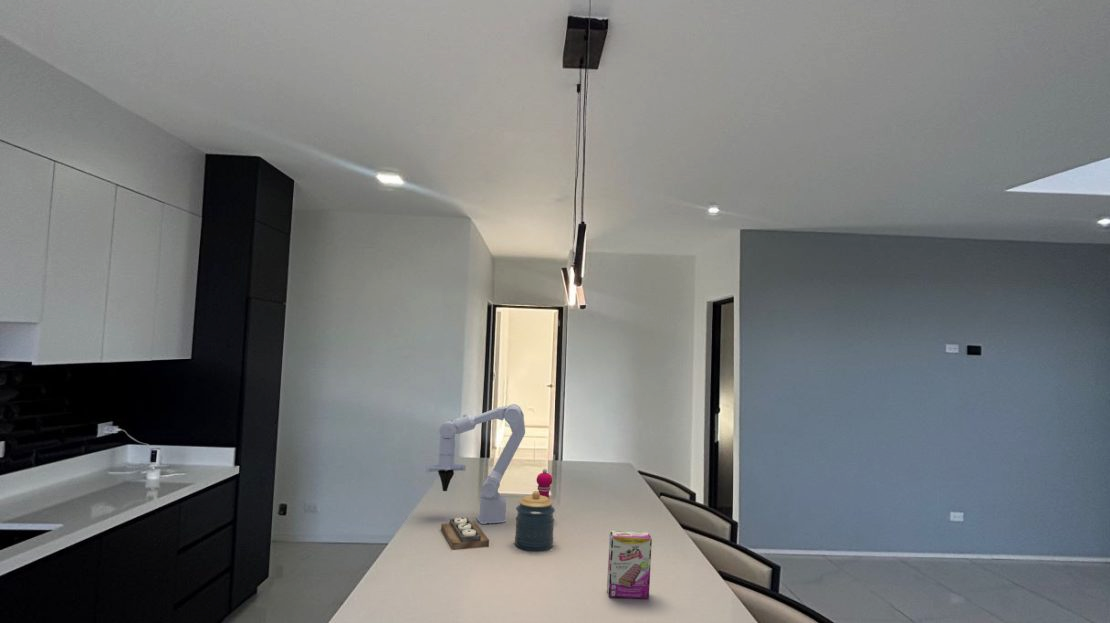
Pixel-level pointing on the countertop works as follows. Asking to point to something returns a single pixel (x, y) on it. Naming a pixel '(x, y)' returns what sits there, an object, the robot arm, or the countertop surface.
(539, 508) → the canister
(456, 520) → the button two
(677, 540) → the countertop surface
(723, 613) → the countertop surface
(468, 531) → the button one
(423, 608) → the countertop surface
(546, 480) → the pepper mill
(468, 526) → the button three
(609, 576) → the candy bar box
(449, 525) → the button panel
